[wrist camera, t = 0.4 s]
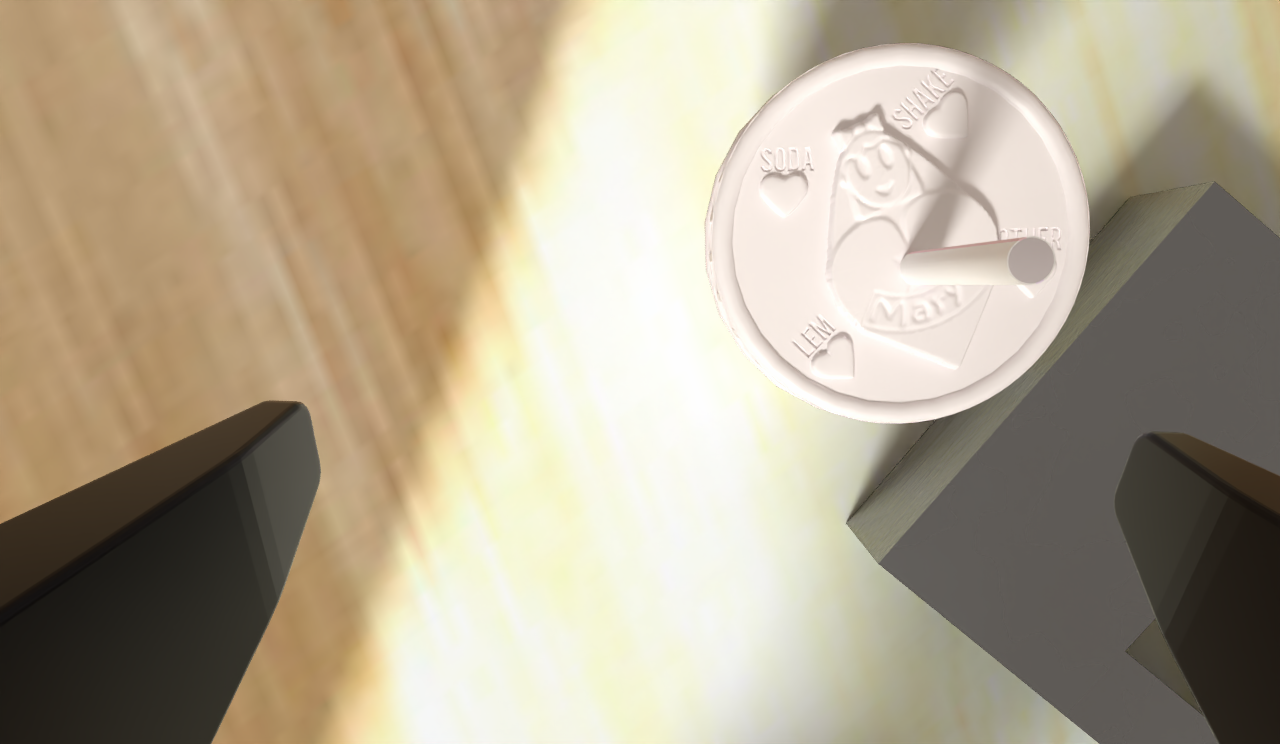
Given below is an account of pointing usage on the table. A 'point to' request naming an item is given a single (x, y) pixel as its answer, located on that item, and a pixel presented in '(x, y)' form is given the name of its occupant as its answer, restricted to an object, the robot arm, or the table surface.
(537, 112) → the table surface
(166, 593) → the robot arm
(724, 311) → the smoothie
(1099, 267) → the block
